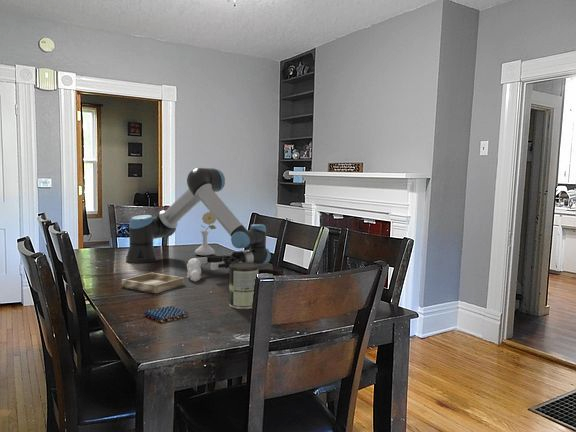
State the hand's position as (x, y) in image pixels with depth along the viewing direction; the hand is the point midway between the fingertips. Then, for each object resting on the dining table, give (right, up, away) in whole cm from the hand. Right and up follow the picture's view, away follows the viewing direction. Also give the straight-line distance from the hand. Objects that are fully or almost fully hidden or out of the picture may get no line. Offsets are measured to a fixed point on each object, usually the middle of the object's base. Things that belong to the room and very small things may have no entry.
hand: (202, 264), depth 189 cm
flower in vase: (-9, -2, +58) cm, 59 cm away
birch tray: (-17, -7, -15) cm, 23 cm away
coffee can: (+22, -10, -38) cm, 45 cm away
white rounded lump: (-3, -7, -1) cm, 7 cm away
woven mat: (-1, -11, -52) cm, 53 cm away
